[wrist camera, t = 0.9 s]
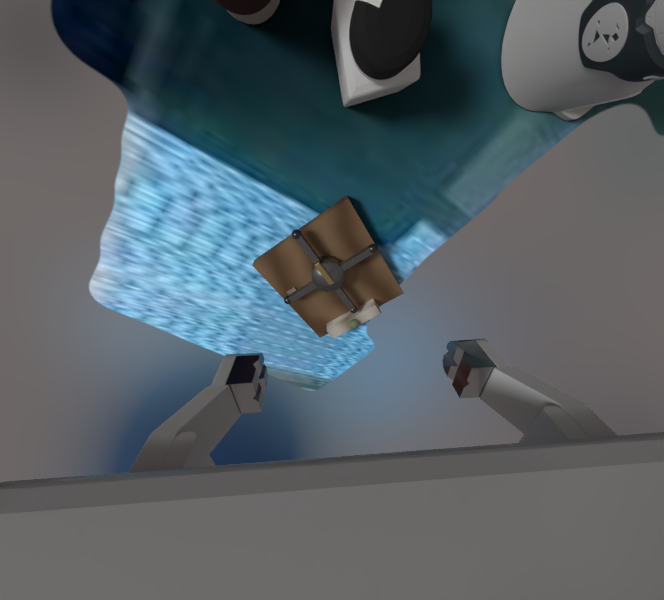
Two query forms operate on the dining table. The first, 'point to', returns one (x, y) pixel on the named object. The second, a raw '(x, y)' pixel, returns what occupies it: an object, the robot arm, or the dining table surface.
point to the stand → (359, 280)
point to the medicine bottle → (378, 45)
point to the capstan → (327, 272)
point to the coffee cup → (250, 9)
